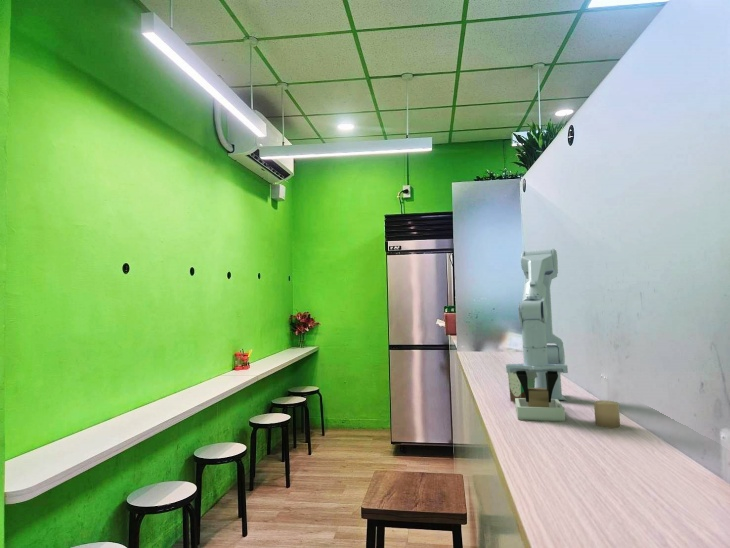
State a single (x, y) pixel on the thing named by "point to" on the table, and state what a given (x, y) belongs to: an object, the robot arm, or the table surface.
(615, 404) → the beige rounded block
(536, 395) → the walnut block
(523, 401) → the counting tray
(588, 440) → the table surface
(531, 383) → the food container
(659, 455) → the table surface
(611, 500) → the table surface
